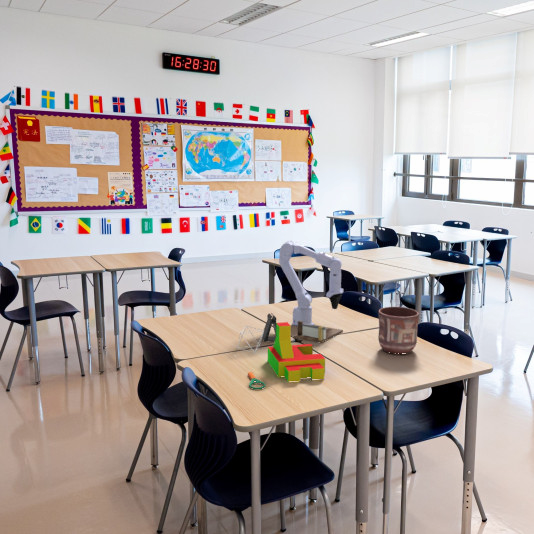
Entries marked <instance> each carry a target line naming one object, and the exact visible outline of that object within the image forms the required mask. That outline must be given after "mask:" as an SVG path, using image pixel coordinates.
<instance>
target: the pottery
mask: <svg viewBox="0 0 534 534" xmlns="http://www.w3.org/2000/svg"><path fill="white" fill-rule="evenodd" d="M377 315H378V339H377V340H378V344H379V346H380V348H381V349H382V350H383V351H384V350H385V351H386V353H387V352H390V353H396V354H398V353H399V354H402V353H408V354H410V353H411V352H412V351H413V350H414V349H415V347H416V345H417V343H418V342H417V340H418V327H419V326H418V325H419V320H420V319H419V318H420V313H419V312H418V311H417V310H416V309H413V308H409V307H405V306H387V307H386V306H385V307H381V308H380V309H378V314H377ZM385 351H384V352H385ZM409 352H410V353H409ZM390 353H389V354H390Z"/></svg>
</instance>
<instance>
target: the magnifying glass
mask: <svg viewBox="0 0 534 534" xmlns="http://www.w3.org/2000/svg"><path fill="white" fill-rule="evenodd" d="M247 375H248V377H249V379H250V382H249V384H248V387H249V386H250V387H251V388H253V389H252V390H254V389H261V390H263V389H262V388H264V387H265V388H266V383H265V382H264V381H262V380H260V379H257V378H256V377H255V375H254V374H253V372H252V371H250V372H249V371H248V373H247ZM254 381H256V382H254ZM254 383H261V384H263V385H264V386H263V385H262V386H259V387H258V386H257V387H256V386H253V385H255V384H254ZM252 384H253V385H252ZM261 384H260V385H261ZM250 387H249V388H250ZM251 388H250V389H251ZM265 388H264V389H265Z"/></svg>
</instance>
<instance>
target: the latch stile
mask: <svg viewBox="0 0 534 534" xmlns="http://www.w3.org/2000/svg"><path fill="white" fill-rule="evenodd" d="M318 326H319V327H318V340H320V341H322V335H323V327H321V326H322V325H318Z"/></svg>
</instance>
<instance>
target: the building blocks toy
mask: <svg viewBox="0 0 534 534" xmlns="http://www.w3.org/2000/svg"><path fill="white" fill-rule="evenodd" d="M291 325H292V324H290V323H289V322H287V321H285V322H276V335H275V336H276V339H275V341H273V342H274V343H273V346H267V363H268V362H269V363H268V365H269V366H270V365H271V366H270V367H271V368H273V369H274V370H273V369H272V370H273V372H274V371H275V372H276V373H275V372H274V373H275V374H277V375H278V376H277V375H276V376H277V377H281V376H285V377H284V379H285V378H286V379H287V380H288V381H287V380H286V379H285V380H286V381H287V383H288V382H289V381H299V380H300V381H301V379H300V378H307V377H311V378H312V379H325V374H326V358H325V357H324V355H322V354H321V353H314V352H313V351H314V349H313V348H314V346H313V344H312V343H305V344H292V340H291V339H292V337H291V336H292V335H291V333H292V332H291V330H292V329H291V328H292V326H291ZM324 373H325V374H324ZM281 378H282V377H281Z"/></svg>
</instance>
